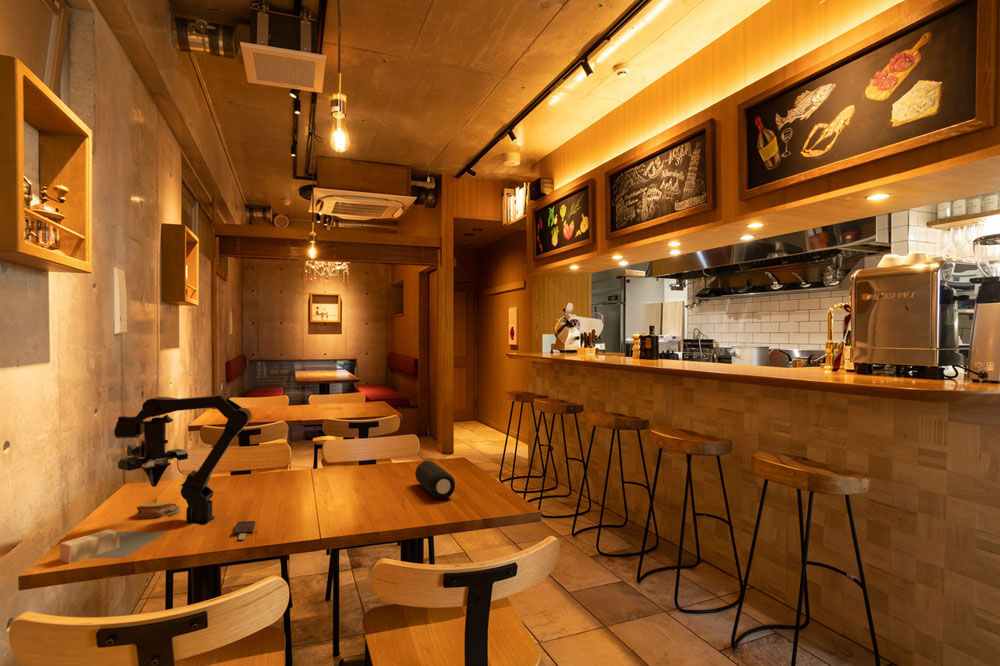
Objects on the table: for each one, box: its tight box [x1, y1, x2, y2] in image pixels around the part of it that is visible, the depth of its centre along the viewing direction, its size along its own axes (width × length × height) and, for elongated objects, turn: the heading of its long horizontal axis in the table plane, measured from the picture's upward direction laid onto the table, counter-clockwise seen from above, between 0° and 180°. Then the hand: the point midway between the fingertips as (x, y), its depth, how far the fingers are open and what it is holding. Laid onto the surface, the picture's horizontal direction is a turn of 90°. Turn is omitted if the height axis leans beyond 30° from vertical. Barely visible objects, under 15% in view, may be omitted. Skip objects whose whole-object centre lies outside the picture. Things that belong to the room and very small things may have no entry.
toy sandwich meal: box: [136, 498, 182, 519], centre depth 180 cm, size 12×14×5 cm
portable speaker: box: [414, 460, 456, 500], centre depth 210 cm, size 26×10×10 cm, turn 24°
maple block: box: [59, 528, 121, 564], centre depth 145 cm, size 4×4×12 cm
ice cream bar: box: [232, 520, 256, 541], centre depth 164 cm, size 5×2×15 cm
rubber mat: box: [87, 531, 167, 559], centre depth 153 cm, size 15×19×1 cm
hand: (153, 486), depth 170 cm, fingers closed
